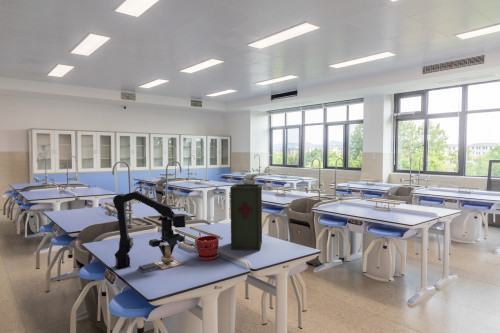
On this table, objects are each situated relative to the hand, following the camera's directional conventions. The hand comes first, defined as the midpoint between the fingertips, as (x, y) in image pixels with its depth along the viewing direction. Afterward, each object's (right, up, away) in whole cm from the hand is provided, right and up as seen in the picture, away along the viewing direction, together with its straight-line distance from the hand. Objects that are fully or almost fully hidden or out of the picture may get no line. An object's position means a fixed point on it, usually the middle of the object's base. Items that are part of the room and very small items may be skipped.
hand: (167, 255), depth 182 cm
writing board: (0, -5, 0) cm, 5 cm away
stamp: (0, -3, 0) cm, 3 cm away
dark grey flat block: (-8, -5, -7) cm, 12 cm away
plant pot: (+21, -4, +10) cm, 24 cm away
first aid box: (+44, -3, +34) cm, 56 cm away
